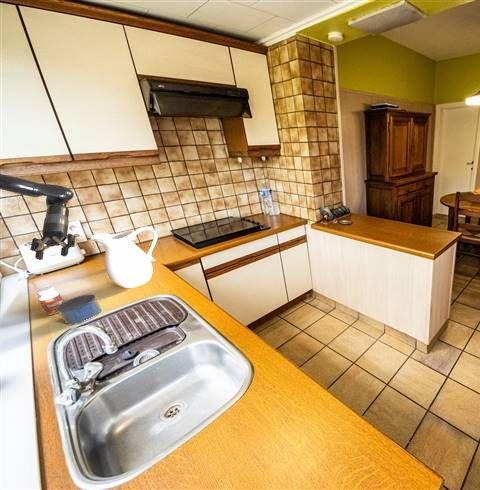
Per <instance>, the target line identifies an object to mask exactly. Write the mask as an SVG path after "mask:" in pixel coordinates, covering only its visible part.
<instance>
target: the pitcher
mask: <svg viewBox="0 0 480 490" xmlns="http://www.w3.org/2000/svg"><path fill="white" fill-rule="evenodd" d="M143 231H149V232H151V233H152V235H153V239H152V242H151V244H150V247H149V249H148V251H147V253H145V251H144V250H143V249H141V248H140V247H139V246H138V245H137V244H135V242H134V241H136V240H137V238H136V236H137V235H138V234H139V233H141V232H143ZM158 237H159V236H158V233H157V231H156V230H155V229H154V228H153V227H151V226H141V227H139V228H137V229H136V230H131V229H130V230H125V231H122V232H119V233H96V234H94V235H92V236H91V237H90V239H89V240H90V241H92V242H97V243H99V244H101V245H102V246H103V247H104V250H105V251H104V252H105V254H104V269H105V272H106V274H107V276H108V277H109V279H110V280H111V282H112V283H114V284H115V285H117V286H119V287H121V288H123V289H132V288H137V287H140V286H143V285H144V284H147V283H148V282H149V281H150V280H151V279H152V275H153V265H152V262H155V261H156V259H154V257H152V252H153V251H154V248H155V246H156V243H157V241H158Z"/></svg>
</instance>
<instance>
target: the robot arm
mask: <svg viewBox="0 0 480 490" xmlns="http://www.w3.org/2000/svg"><path fill="white" fill-rule="evenodd" d="M0 190H2V191H6V192H10V193H12V194H13V193H14V194H18V195H22V196H26V197H31V198H39V197H45V203H46V204H45V205H46V212H45V217H44V220H43V225H42V232H41V234H42V237H41V238H36V237H33V238H32V241H31V244H30V249H29V250H30V251H32V252H35V256H34V257H35V259H36V260H38V261H42V260H43V259H44V254H45V252H46V251H47V250H48V249H50V248H51V247H52V248H53V247H56V246H57V247H58V246H61V249H60V250H61V251H60V256H61V257H67V256H68V255H69V249H71V248H75V246H76V236H75V235H74V234H72V233H68V232H69V217H70V209H69V207H68V206H67V205H68V203H69V202H70V201H71V200H72V199H73V198H74V197H75V193H74V192H73V190H72V189H70V188H68V187H66V186H62V185H60V184H59V185H58V184H51V183H44V182H43V183H42V182H37V181H33V180H29V179H27V178H26V179H25V178H22V177H18V176H13V175H9V174H5V173H0ZM66 240H67V242H65V241H66Z"/></svg>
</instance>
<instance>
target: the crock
mask: <svg viewBox="0 0 480 490" xmlns="http://www.w3.org/2000/svg"><path fill="white" fill-rule="evenodd" d="M56 310H57V311H58V312H59V313H58V314H59V315H60V316H61V317H62V319H63V320H64V322H65V324H67V325H69V324H73V325H76V324H75V323H78V324H80V323H79V322H82V321H84V320H86V319H89V318H91V317H93V316H95V315H97V314H98V315H100V314H101V313H102V312H103V308H102V307H101V306H100V303H99V302H98V300H97V296H96V295H95V294H93V293H90V294H83V295H80V296H79V295H78V296H76V297H73V298H70V299H68V300H66V301H64V303H62V304H61V305H59V306H58V307H57V308H56ZM99 313H100V314H99ZM98 315H97V316H98ZM95 317H96V316H95ZM82 323H83V322H82Z"/></svg>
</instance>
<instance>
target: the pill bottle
mask: <svg viewBox="0 0 480 490" xmlns="http://www.w3.org/2000/svg"><path fill="white" fill-rule="evenodd" d="M35 292H36V295H38V296H37V301H38V303H39V304H40V306H41V307H42V309H43V310H44V311H45V312H44V313H46V314H47V315H49V316H52V315H57V314H60V313H59V312H58V311H57V310H56V308H57V307H58V306H59V305H61V304H62V303H64V302H65V301H64V299H63V297H62V296H61V294H60V292H59V291H57V290H55V289H54V287H53V286H47V287H43V288H40V289H38V290H36V291H35Z"/></svg>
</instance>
